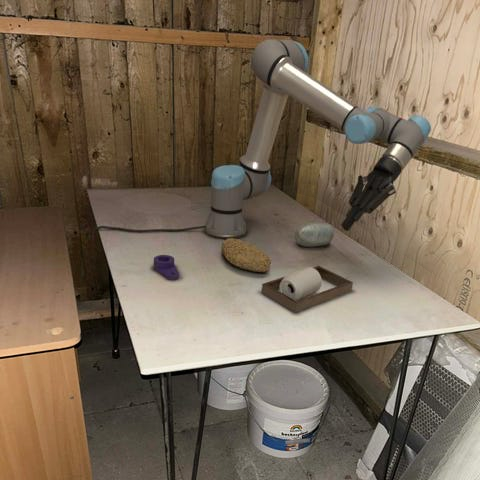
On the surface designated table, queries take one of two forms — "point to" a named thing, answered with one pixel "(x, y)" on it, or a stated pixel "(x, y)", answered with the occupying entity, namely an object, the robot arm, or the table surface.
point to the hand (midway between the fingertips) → (344, 227)
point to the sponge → (245, 255)
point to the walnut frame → (296, 306)
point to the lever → (166, 267)
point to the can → (301, 283)
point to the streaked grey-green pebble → (314, 234)
